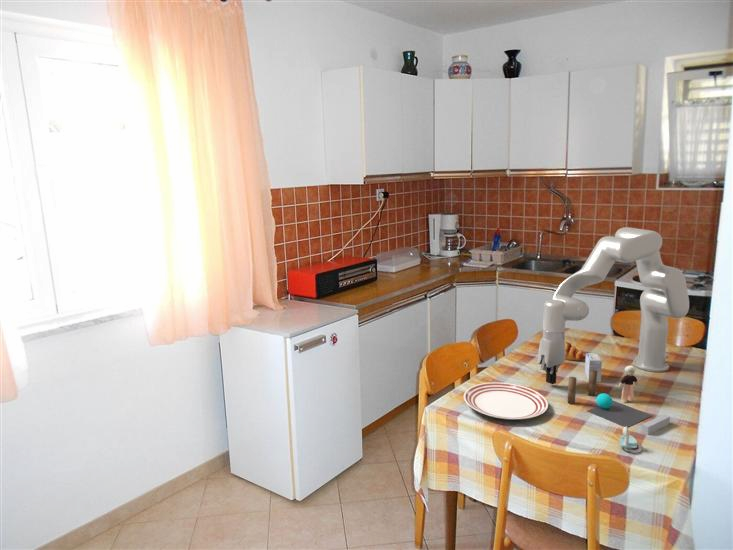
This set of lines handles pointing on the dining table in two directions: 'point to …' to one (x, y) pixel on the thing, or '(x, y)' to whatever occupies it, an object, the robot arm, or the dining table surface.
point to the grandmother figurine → (628, 385)
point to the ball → (604, 401)
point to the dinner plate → (505, 400)
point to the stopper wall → (655, 424)
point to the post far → (571, 390)
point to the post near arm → (592, 382)
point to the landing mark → (620, 414)
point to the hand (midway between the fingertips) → (550, 382)
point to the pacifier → (628, 441)
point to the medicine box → (593, 365)
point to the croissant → (573, 353)
